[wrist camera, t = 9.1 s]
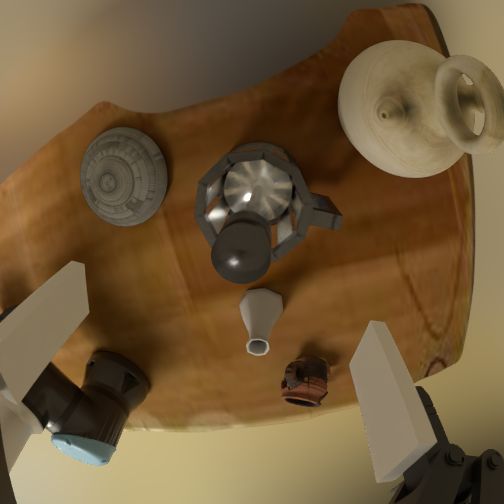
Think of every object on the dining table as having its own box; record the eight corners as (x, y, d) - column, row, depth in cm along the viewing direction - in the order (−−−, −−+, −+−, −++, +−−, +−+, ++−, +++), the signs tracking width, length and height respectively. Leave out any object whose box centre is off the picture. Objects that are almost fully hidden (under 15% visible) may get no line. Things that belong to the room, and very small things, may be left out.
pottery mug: (341, 369, 53) (333, 409, 48) (300, 370, 59) (291, 406, 54) (312, 345, 47) (301, 392, 42) (267, 347, 53) (255, 388, 48)
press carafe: (211, 216, 42) (186, 253, 30) (224, 135, 38) (201, 138, 26) (313, 236, 42) (328, 281, 30) (333, 157, 38) (360, 171, 26)
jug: (425, 69, 31) (550, 43, 8) (424, 170, 37) (547, 227, 14) (324, 52, 32) (388, -35, 9) (324, 161, 38) (395, 212, 15)
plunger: (220, 213, 39) (169, 300, 20) (230, 150, 36) (180, 176, 16) (283, 226, 39) (291, 324, 20) (298, 163, 36) (326, 204, 16)
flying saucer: (186, 204, 42) (174, 214, 37) (107, 235, 45) (90, 248, 40) (149, 109, 37) (132, 107, 32) (73, 153, 40) (53, 158, 35)
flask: (279, 327, 49) (279, 369, 40) (236, 320, 49) (228, 361, 40) (288, 290, 46) (290, 330, 37) (241, 283, 46) (233, 322, 37)
